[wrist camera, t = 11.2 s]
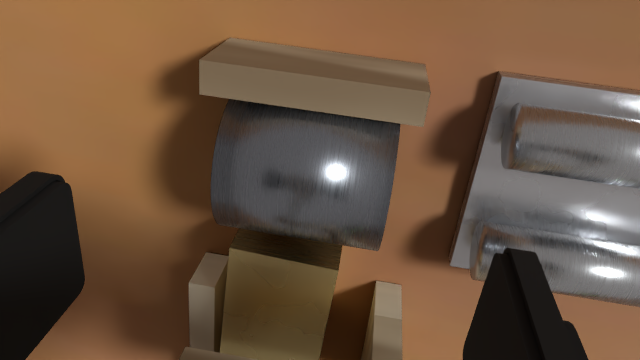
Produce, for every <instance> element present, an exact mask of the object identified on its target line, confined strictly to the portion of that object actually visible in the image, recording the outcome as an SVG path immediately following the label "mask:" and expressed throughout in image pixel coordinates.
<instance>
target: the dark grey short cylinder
mask: <svg viewBox="0 0 640 360" xmlns="http://www.w3.org/2000/svg"><path fill="white" fill-rule="evenodd" d="M399 133H400V123H393V122H386V121H379V120H372V119H365V118H358V117H351V116H345V115H338V114H331V113H324V112H317V111H310V110H303V109H296V108H290V107H283V106H276V105H269V104H262V103H255V102H248V101H241V100H235V99H229V101H228V103H227V105H226V108H225V110H224V113H223V116H222V119H221V123H220V126H219V130H218V134H217V139H216V144H215V150H214V156H213V163H212V173H211V205H212V212H213V216H214V219H215V221H216V223H217V224H219V225H223V226H229V227H235V228H241V229H247V230H253V231H259V232H265V233H271V234H277V235H283V236H289V237H295V238H301V239H307V240H313V241H319V242H325V243H331V244H338V245H344V246H350V247H356V248H362V249H368V250H374V251H378V250H379V248H380V245H381V241H382V237H383V233H384V228H385V224H386V219H387V214H388V208H389V203H390V197H391V191H392V185H393V179H394V172H395V166H396V158H397V151H398V142H399Z"/></svg>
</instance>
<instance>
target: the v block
mask: <svg viewBox="0 0 640 360" xmlns="http://www.w3.org/2000/svg"><path fill="white" fill-rule="evenodd" d="M506 248H513V249H519V250H526V251H532V252H535V253H536V254H537V256H538V258H539V261H540V263H541V266H542V268H543V271H544V274H545V276H546V279H547V281H548V284H549V286H550V289H551V291H552V293H557V294H563V295H569V296H575V297H581V298H587V299H593V300H599V301H605V302H611V303H617V304H623V305H629V306H636V307H640V90H632V89H625V88H618V87H610V86H603V85H596V84H588V83H581V82H574V81H566V80H559V79H552V78H545V77H537V76H530V75H523V74H515V73H508V72H501V71H498V75H497V79H496V83H495V86H494V90H493V94H492V97H491V101H490V105H489V108H488V112H487V116H486V120H485V123H484V127H483V131H482V134H481V138H480V142H479V145H478V149H477V153H476V157H475V160H474V164H473V168H472V171H471V175H470V179H469V182H468V186H467V190H466V194H465V197H464V201H463V205H462V208H461V212H460V216H459V219H458V223H457V227H456V231H455V234H454V238H453V242H452V245H451V249H450V253H449V263H450V266H454V267H461V268H467V269H470V275H471V278H472V279H473V280H478V281H484V282H485V280H486V277H487V274H488V271H489V268H490V265H491V262H492V259H493V256H494V255H495V253H501V254H503V252H504V250H505V249H506Z"/></svg>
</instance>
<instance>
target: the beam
mask: <svg viewBox="0 0 640 360" xmlns="http://www.w3.org/2000/svg"><path fill="white" fill-rule="evenodd" d="M430 93H431V92H430V87H429V82H428V77H427V71H426V66H425V64H419V63H411V62H404V61H397V60H390V59H382V58H375V57H368V56H360V55H353V54H346V53H338V52H331V51H324V50H317V49H309V48H302V47H295V46H287V45H280V44H273V43H265V42H258V41H251V40H244V39H236V38H229V39H228V40H226V41H225V42H223V43H222V44H221V45H219V46H218V47H216V48H215V49H214V50H212V51H211V52H209V53H208V54H207V55H205V56H204V57H202V58H201V59H200V60H199V94H200V95H207V96H214V97H221V98H228V99H235V100H241V101H248V102H255V103H262V104H269V105H276V106H283V107H290V108H296V109H303V110H310V111H317V112H324V113H331V114H338V115H345V116H351V117H358V118H365V119H372V120H379V121H386V122H393V123H400V124H406V125H413V126H420V127H423V126H424V121H425V117H426V112H427V107H428V102H429V98H430ZM228 258H229V256H225V255H219V254H213V253H207V252H206V253H205V255H204V257H203V259H202V260H201V262H200V264H199V266H198V267H197V269H196V271H195V273H194V274H193V276H192V278H191V280H190V281H189V333H190V347H185V348H184V350H183V353H182V355H181V357H180V359H179V360H257V359H251V358H246V357H240V356H235V355H229V354H224V353H220V345H221V334H222V323H223V312H224V301H225V291H226V280H227V269H228ZM361 360H402V298H401V285H399V284H393V283H387V282H381V281H376V285H375V290H374V295H373V300H372V306H371V311H370V316H369V321H368V326H367V331H366V336H365V341H364V346H363V352H362V357H361Z"/></svg>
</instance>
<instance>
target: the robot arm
mask: <svg viewBox="0 0 640 360" xmlns="http://www.w3.org/2000/svg"><path fill="white" fill-rule="evenodd" d="M84 281H85V276H84V269H83V262H82V256H81V249H80V243H79V236H78V230H77V223H76V217H75V210H74V203H73V197H72V190H71V187H70V185H69V184H68V183H65V181H64V179H63V177H61V176H60V175H55V174H49V173H43V172H37V171H36V172H31V173H29V174H27V175H26V176H25V177H23V178H22V179H20V180H19V181H18V182H16V183H15V184H14V185H12V186H11V187H9V188H8V189H7V190H5V191H4V192H2V193H1V194H0V360H25V359H26V358H27V357H28V356H29V354H30V353H31V352H32V351H33V350H34V348H35V347H36V346H37V345H38V344H39V342H40V341H41V340H42V339H43V338H44V336H45V335H46V334H47V333H48V331H49V330H50V329H51V328H52V327H53V325H54V324H55V323H56V322H57V321H58V319H59V318H60V317H61V316H62V315H63V313H64V312H65V311H66V310H67V308H68V307H69V306H70V305H71V304H72V302H73V301H74V300H75V299H76V298H77V296H78V295H79V294H80V292H81V291H82V289H83V286H84ZM463 360H588V358H587V355H586V353H585V350H584V348H583V346H582V343H581V341H580V338H579V336H578V333H577V331H576V329H575V327H574V326H573V324H571V323H570V322H569V321H563V320H562V317H561V314H560V312H559V309H558V307H557V304H556V302H555V299H554V297H553V294H552V291H551V289H550V286H549V284H548V281H547V279H546V276H545V274H544V271H543V268H542V266H541V263H540V261H539V258H538V256H537V254H536V253H535V252H532V251H526V250H519V249H513V248H506V249H505V250H504V252H503V254H501V253H495V255H494V256H493V259H492V262H491V265H490V268H489V271H488V274H487V277H486V280H485V283H484V286H483V289H482V292H481V295H480V298H479V301H478V304H477V307H476V310H475V314H474V317H473V320H472V323H471V326H470V329H469V332H468V335H467V338H466V341H465V344H464V349H463Z"/></svg>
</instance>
